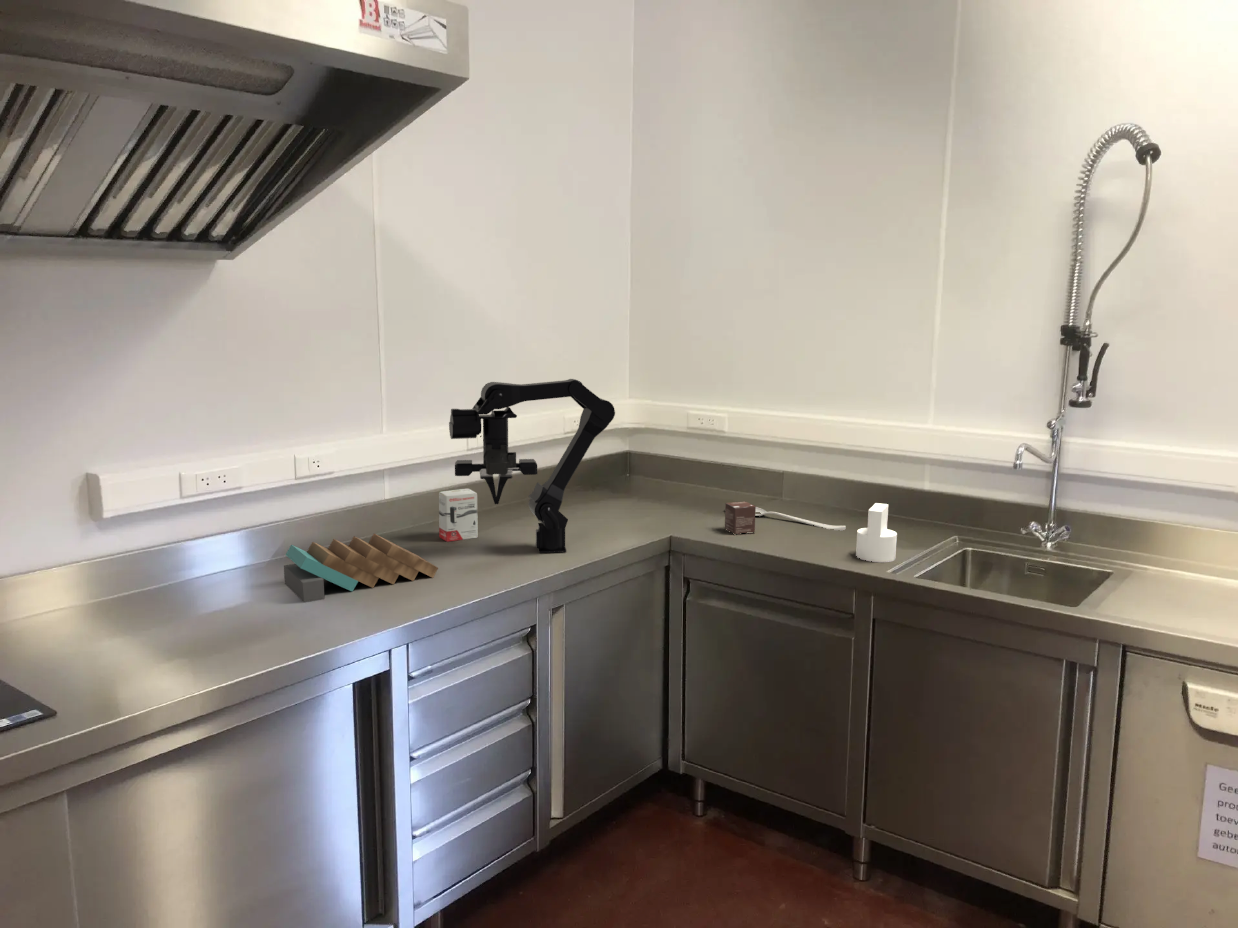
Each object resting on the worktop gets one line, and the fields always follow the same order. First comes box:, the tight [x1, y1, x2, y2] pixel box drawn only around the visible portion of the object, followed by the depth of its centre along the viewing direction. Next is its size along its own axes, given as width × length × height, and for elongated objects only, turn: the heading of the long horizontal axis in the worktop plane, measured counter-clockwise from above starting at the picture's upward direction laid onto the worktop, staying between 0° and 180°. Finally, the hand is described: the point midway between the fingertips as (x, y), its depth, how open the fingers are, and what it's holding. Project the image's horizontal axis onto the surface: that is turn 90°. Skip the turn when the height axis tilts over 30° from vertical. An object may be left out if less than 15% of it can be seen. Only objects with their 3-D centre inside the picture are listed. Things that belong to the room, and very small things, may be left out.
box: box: [724, 501, 757, 535], centre depth 235 cm, size 6×6×7 cm
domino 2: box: [306, 541, 380, 589], centre depth 188 cm, size 2×11×12 cm
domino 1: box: [285, 544, 359, 592], centre depth 186 cm, size 2×11×12 cm
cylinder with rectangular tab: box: [855, 502, 898, 563], centre depth 213 cm, size 9×9×12 cm
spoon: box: [755, 506, 847, 532], centre depth 248 cm, size 35×8×3 cm, turn 54°
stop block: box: [283, 563, 325, 603], centre depth 184 cm, size 4×14×4 cm, turn 35°
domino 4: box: [348, 536, 420, 582], centre depth 193 cm, size 2×11×12 cm
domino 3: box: [327, 538, 400, 585], centre depth 190 cm, size 2×11×12 cm
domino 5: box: [368, 533, 439, 579], centre depth 195 cm, size 2×11×12 cm
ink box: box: [438, 488, 479, 543], centre depth 226 cm, size 8×5×12 cm, turn 123°
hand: (496, 503), depth 211 cm, fingers closed
